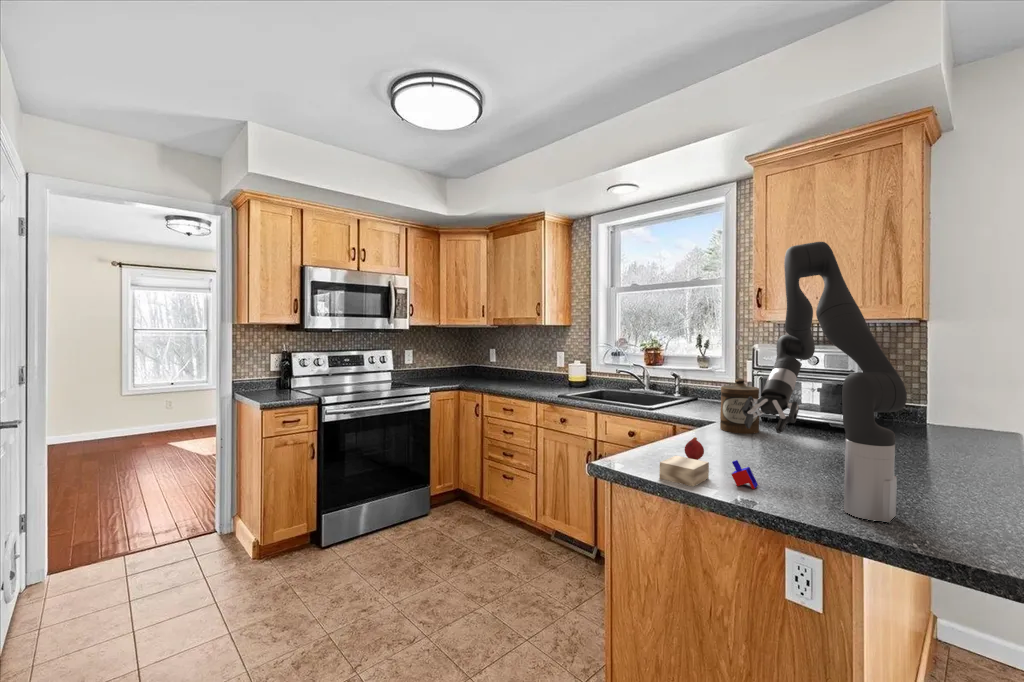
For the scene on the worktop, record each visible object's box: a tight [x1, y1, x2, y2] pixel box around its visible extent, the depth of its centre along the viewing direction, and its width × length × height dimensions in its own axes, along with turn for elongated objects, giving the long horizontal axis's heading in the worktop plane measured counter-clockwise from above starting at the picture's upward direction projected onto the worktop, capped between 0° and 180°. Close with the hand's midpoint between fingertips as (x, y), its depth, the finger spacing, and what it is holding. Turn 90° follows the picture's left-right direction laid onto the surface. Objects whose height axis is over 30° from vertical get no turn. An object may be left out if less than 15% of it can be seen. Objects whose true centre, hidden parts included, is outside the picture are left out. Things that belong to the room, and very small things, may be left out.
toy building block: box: [730, 459, 759, 490], centre depth 134 cm, size 4×4×8 cm
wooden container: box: [719, 377, 760, 435], centre depth 204 cm, size 15×15×22 cm
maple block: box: [659, 455, 710, 487], centre depth 140 cm, size 10×10×5 cm
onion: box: [684, 436, 705, 460], centre depth 157 cm, size 6×6×8 cm
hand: (762, 429), depth 140 cm, fingers open, 8 cm apart
